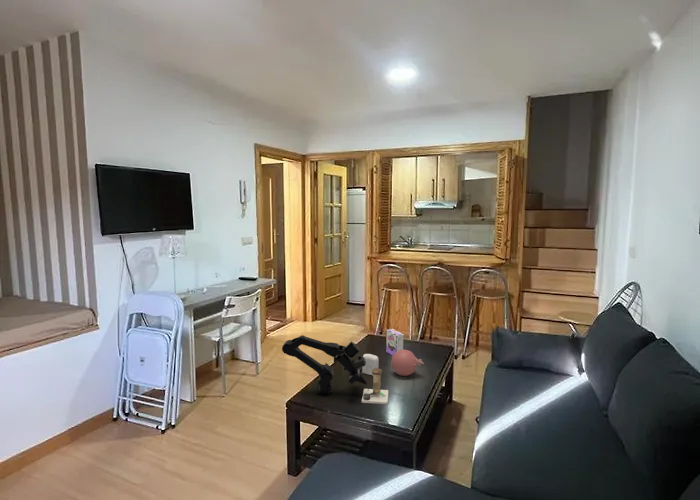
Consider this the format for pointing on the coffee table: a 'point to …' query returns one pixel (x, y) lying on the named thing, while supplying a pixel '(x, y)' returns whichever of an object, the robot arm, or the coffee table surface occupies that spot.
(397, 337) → the candy box
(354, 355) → the robot arm
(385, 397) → the dial board
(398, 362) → the balloon
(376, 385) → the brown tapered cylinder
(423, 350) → the coffee table surface
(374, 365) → the photo printer
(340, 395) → the coffee table surface
